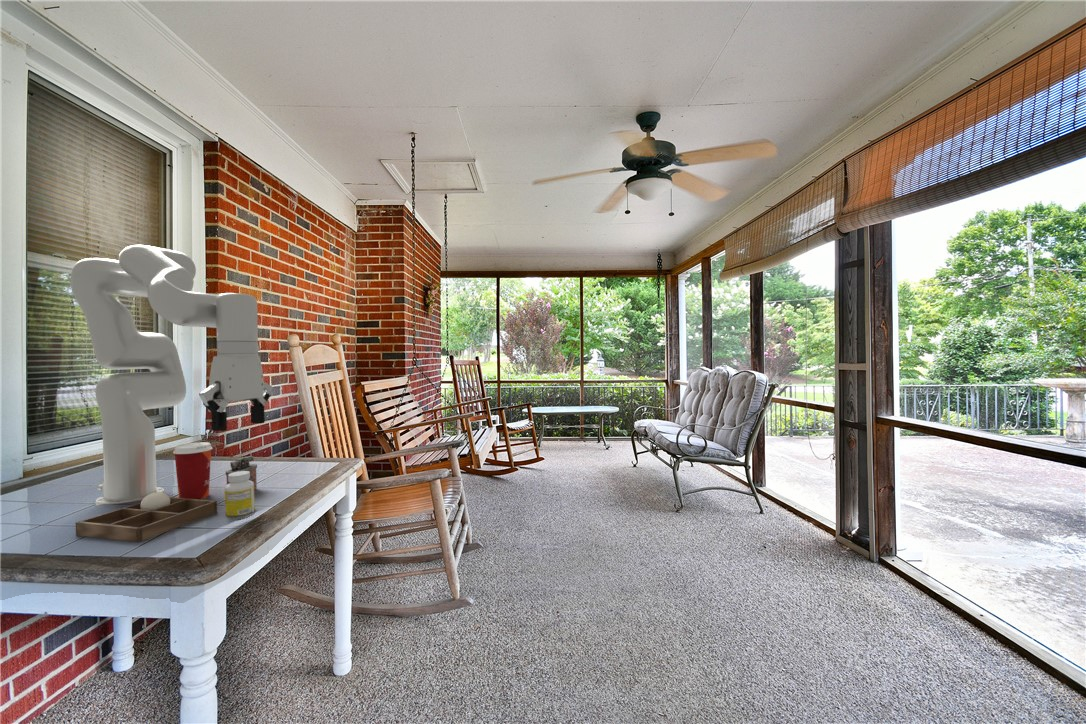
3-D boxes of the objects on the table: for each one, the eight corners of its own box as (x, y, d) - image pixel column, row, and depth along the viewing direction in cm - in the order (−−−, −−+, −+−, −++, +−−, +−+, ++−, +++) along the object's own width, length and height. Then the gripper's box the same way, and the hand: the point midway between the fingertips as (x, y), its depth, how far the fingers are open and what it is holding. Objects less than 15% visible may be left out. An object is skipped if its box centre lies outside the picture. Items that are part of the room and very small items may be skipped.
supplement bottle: (235, 512, 101) (234, 470, 101) (259, 511, 102) (258, 469, 102) (219, 521, 96) (218, 476, 96) (246, 520, 96) (245, 476, 96)
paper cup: (220, 498, 111) (219, 443, 110) (185, 508, 104) (183, 449, 104) (202, 494, 114) (201, 440, 114) (166, 504, 107) (165, 446, 107)
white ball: (134, 518, 95) (133, 495, 95) (159, 509, 100) (158, 488, 100) (152, 519, 94) (152, 496, 94) (176, 511, 99) (176, 489, 99)
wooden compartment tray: (76, 539, 87) (75, 522, 87) (160, 511, 102) (160, 496, 102) (139, 547, 83) (138, 529, 83) (217, 516, 99) (216, 501, 99)
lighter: (233, 503, 108) (233, 462, 107) (222, 502, 108) (221, 461, 108) (261, 492, 116) (260, 454, 115) (250, 491, 116) (249, 454, 116)
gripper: (256, 349, 107) (257, 420, 108) (185, 349, 90) (187, 433, 91) (283, 349, 106) (284, 421, 106) (215, 349, 89) (217, 434, 89)
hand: (239, 426), depth 98 cm, fingers open, 9 cm apart
